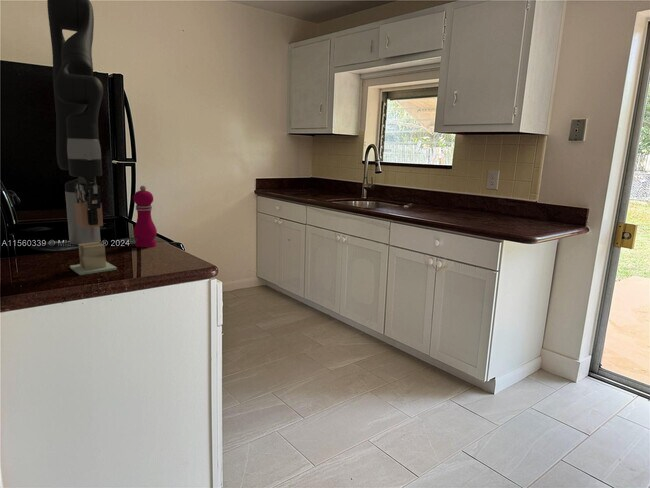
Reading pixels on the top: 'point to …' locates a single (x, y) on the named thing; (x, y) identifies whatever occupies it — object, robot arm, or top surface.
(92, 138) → the robot arm
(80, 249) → the maple block
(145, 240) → the pepper mill
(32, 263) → the top surface
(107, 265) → the pad
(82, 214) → the terracotta block
